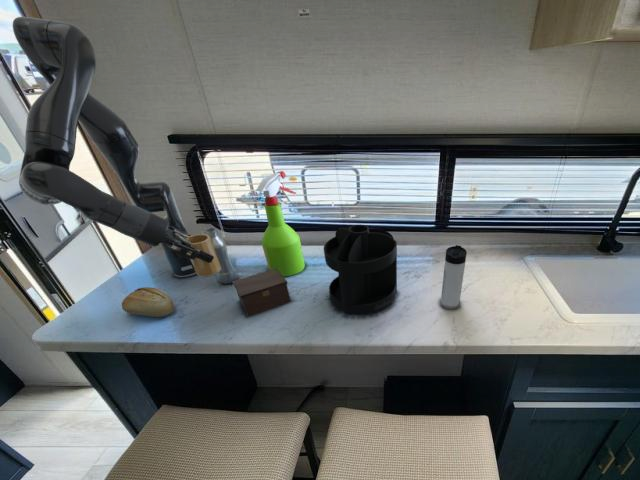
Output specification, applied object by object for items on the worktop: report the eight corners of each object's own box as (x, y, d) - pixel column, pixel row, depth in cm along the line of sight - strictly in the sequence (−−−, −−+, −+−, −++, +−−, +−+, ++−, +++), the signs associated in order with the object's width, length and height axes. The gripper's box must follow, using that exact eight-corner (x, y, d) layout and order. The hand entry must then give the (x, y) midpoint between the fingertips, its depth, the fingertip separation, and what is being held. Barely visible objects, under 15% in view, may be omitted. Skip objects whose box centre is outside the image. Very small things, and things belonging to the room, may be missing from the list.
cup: (194, 269, 92) (181, 237, 87) (218, 263, 96) (207, 232, 90) (198, 278, 88) (184, 246, 82) (223, 272, 91) (211, 240, 85)
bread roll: (141, 302, 105) (130, 281, 100) (184, 304, 104) (174, 284, 99) (118, 320, 97) (104, 299, 92) (164, 323, 96) (153, 301, 91)
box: (239, 301, 105) (231, 281, 101) (281, 287, 112) (276, 268, 108) (247, 317, 99) (240, 296, 94) (292, 301, 106) (287, 281, 101)
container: (317, 309, 102) (304, 238, 88) (350, 275, 120) (343, 211, 105) (379, 324, 96) (376, 251, 82) (404, 286, 114) (405, 220, 99)
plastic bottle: (231, 286, 113) (212, 234, 101) (214, 284, 114) (194, 232, 102) (242, 277, 118) (225, 227, 106) (226, 275, 119) (208, 225, 107)
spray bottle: (319, 260, 130) (305, 171, 109) (287, 280, 117) (264, 183, 96) (294, 252, 135) (276, 166, 115) (261, 271, 122) (234, 177, 102)
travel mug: (460, 299, 107) (468, 246, 96) (457, 310, 102) (465, 256, 91) (442, 296, 109) (448, 243, 97) (438, 306, 104) (444, 252, 92)
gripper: (150, 221, 72) (222, 253, 85) (147, 204, 82) (212, 235, 94) (133, 248, 73) (207, 276, 86) (132, 227, 82) (198, 255, 95)
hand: (209, 254), depth 90 cm, fingers closed on cup, 6 cm apart
